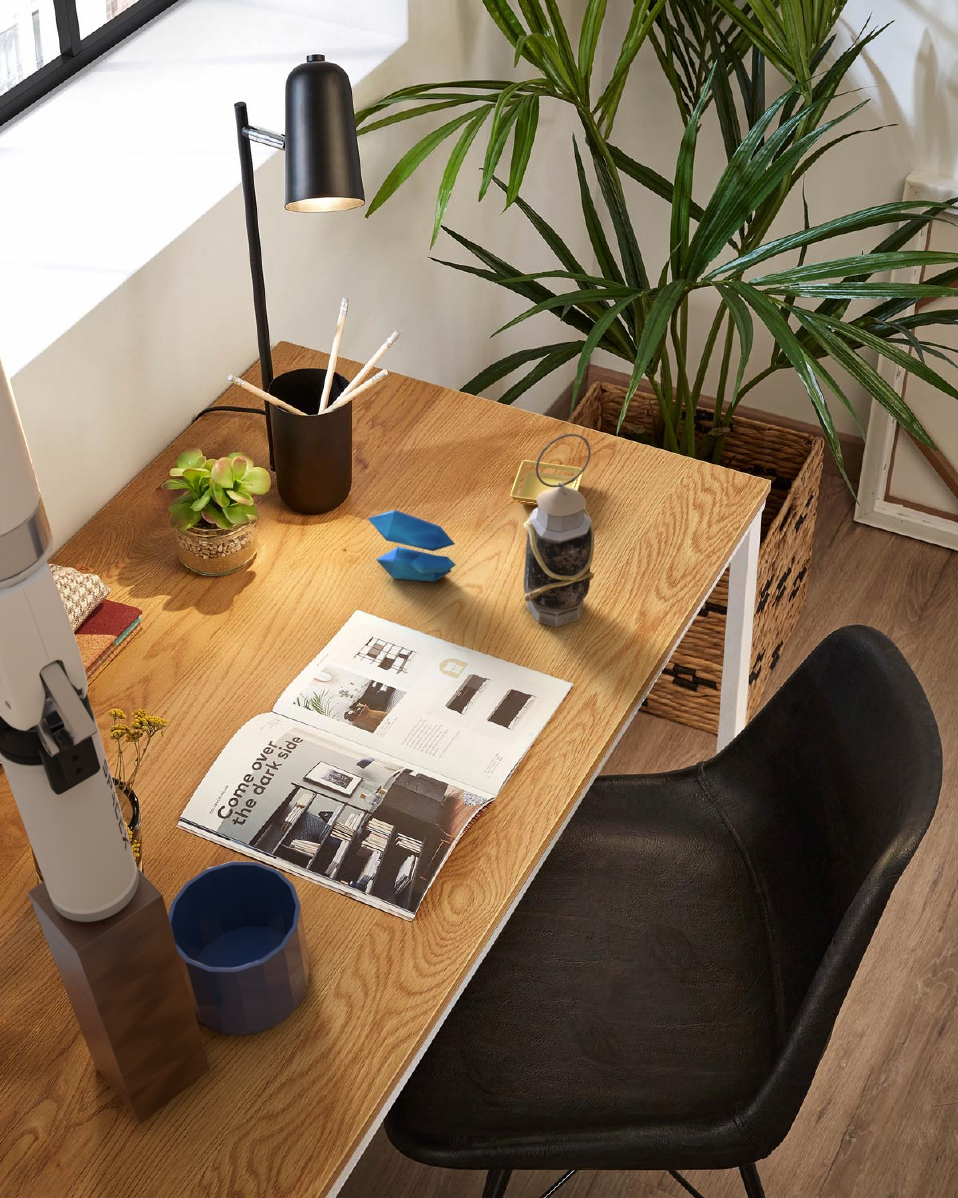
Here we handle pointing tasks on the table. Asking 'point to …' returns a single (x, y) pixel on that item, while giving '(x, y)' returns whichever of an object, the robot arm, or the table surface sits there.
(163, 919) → the plinth
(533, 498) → the yellow basket
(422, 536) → the blue crystals
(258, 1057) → the table surface
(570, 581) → the lantern
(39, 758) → the travel mug
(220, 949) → the crock
